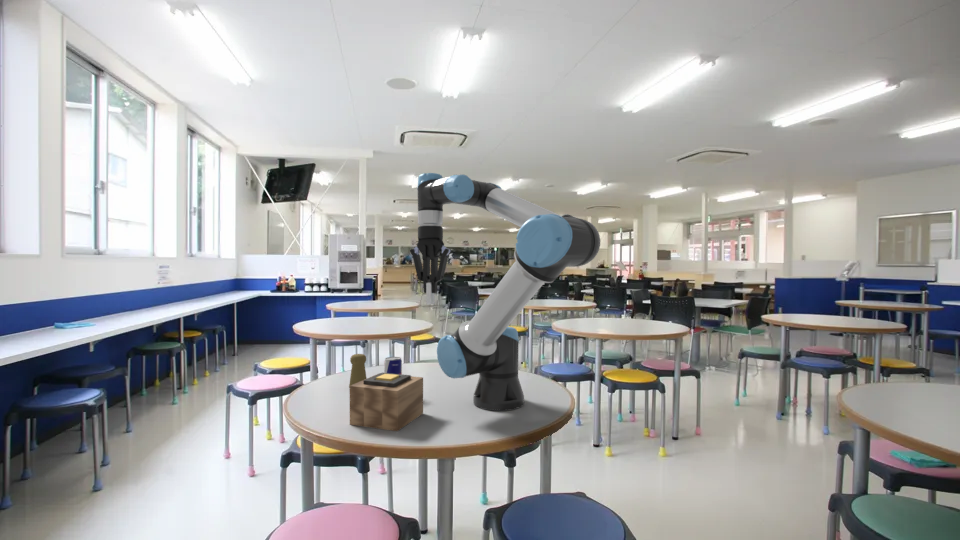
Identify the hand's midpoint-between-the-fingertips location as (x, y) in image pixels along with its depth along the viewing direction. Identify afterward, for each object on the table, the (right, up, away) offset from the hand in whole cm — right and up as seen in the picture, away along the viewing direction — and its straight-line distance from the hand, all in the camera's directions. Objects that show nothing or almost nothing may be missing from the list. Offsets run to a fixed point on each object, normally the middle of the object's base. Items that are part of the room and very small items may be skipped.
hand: (430, 304), depth 133 cm
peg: (-10, -27, -15) cm, 33 cm away
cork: (-26, -29, +16) cm, 43 cm away
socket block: (-10, -30, -15) cm, 35 cm away
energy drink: (-12, -30, +5) cm, 32 cm away
